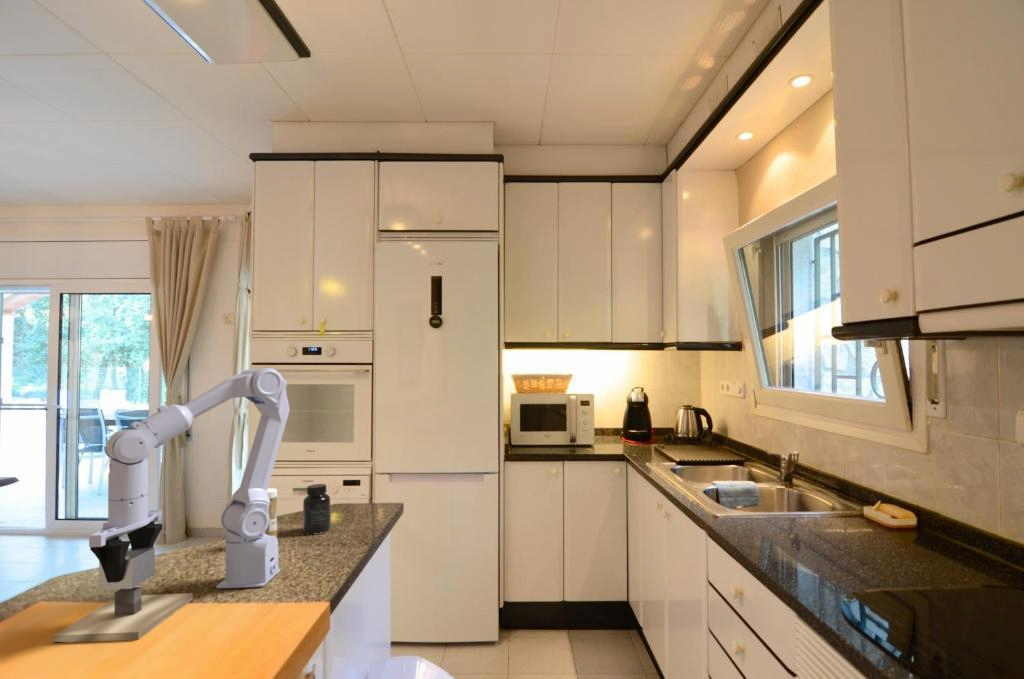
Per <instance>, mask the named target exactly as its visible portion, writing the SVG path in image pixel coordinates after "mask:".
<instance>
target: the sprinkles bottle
mask: <svg viewBox="0 0 1024 679" xmlns="http://www.w3.org/2000/svg"><path fill="white" fill-rule="evenodd" d="M267 494H268V497H269V500H270V505H269V517H270V521H269V525H268V528H267V529H266V531H265V534H266V535H270V536H275V537H276V538H277V540H278V511H277V510H278V508H277V497H278V489H277V488H273V487H271V488H269V487H268V489H267ZM278 541H279V540H278Z"/></svg>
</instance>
